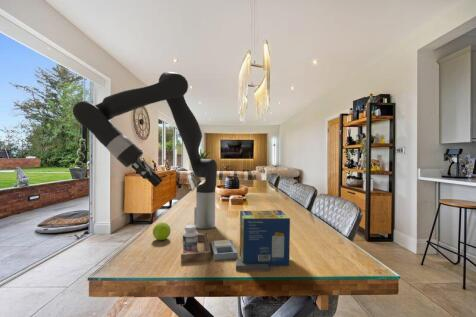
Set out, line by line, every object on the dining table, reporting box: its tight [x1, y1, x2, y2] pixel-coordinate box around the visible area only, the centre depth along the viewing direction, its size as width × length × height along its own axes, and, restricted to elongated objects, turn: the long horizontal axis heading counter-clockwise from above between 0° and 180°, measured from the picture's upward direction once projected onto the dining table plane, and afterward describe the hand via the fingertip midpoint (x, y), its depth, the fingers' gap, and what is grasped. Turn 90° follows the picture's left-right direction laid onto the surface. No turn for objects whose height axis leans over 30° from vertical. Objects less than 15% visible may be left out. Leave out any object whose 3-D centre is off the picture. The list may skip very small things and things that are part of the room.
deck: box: [210, 239, 239, 261], centre depth 84 cm, size 8×12×2 cm, turn 12°
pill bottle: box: [182, 224, 199, 253], centre depth 86 cm, size 5×5×9 cm
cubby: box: [180, 233, 212, 263], centre depth 86 cm, size 10×19×3 cm, turn 12°
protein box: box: [239, 209, 291, 267], centre depth 79 cm, size 10×15×16 cm
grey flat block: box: [235, 258, 270, 272], centre depth 73 cm, size 10×5×2 cm, turn 87°
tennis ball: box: [152, 222, 172, 241], centre depth 96 cm, size 7×7×7 cm
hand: (159, 183), depth 83 cm, fingers open, 8 cm apart
